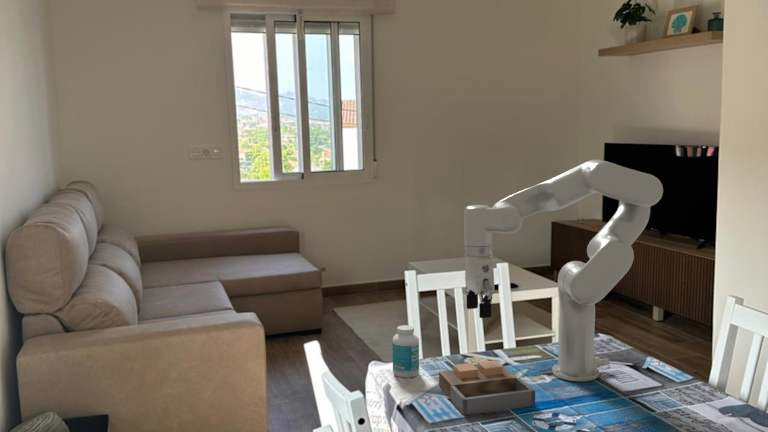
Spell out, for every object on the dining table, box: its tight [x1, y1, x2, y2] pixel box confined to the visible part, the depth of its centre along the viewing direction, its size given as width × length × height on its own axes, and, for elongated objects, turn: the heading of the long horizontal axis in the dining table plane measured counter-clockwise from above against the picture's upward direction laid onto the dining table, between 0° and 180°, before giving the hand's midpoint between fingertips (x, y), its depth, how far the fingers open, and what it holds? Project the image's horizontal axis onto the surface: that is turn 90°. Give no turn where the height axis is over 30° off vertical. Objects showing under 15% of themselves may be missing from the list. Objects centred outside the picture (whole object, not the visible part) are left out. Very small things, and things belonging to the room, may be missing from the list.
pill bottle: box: [392, 324, 420, 379], centre depth 194 cm, size 8×7×14 cm
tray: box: [449, 377, 536, 416], centre depth 174 cm, size 19×9×4 cm, turn 105°
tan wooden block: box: [438, 363, 518, 399], centre depth 183 cm, size 18×10×4 cm, turn 105°
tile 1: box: [452, 362, 478, 379], centre depth 183 cm, size 5×5×2 cm
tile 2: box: [477, 359, 504, 376], centre depth 185 cm, size 5×5×2 cm
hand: (478, 312), depth 190 cm, fingers open, 8 cm apart
